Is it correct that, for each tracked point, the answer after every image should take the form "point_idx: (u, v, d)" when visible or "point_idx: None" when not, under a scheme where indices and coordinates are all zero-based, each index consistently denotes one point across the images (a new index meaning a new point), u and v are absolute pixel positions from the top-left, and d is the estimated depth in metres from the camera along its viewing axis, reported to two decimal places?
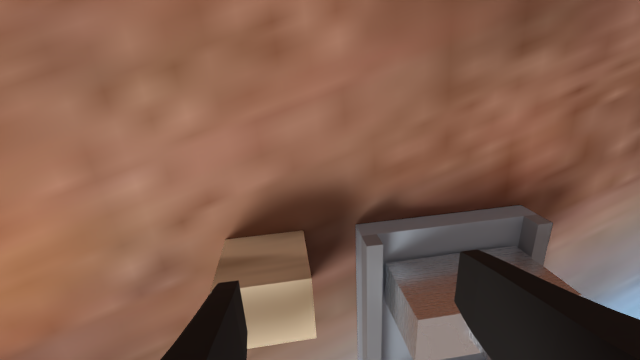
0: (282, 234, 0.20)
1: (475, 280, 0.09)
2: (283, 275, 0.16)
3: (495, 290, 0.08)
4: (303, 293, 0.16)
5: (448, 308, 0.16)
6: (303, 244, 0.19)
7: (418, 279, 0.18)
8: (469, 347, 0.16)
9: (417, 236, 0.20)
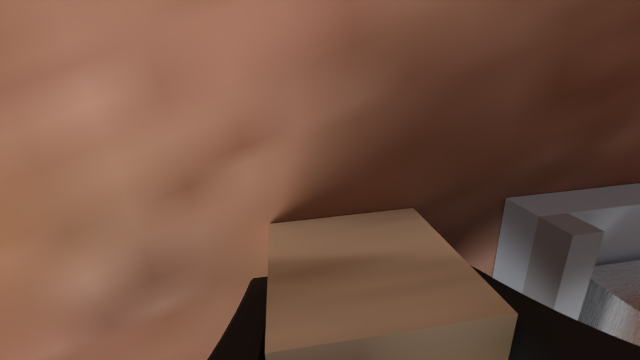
0: (378, 215, 0.10)
1: None
2: (438, 305, 0.06)
3: None
4: (490, 351, 0.06)
5: None
6: (433, 233, 0.09)
7: None
8: None
9: (635, 218, 0.10)
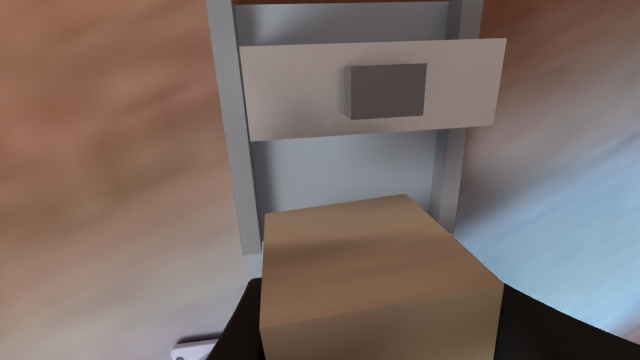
0: (371, 201, 0.11)
1: None
2: (428, 279, 0.07)
3: None
4: (479, 322, 0.07)
5: None
6: (424, 215, 0.09)
7: None
8: (336, 120, 0.11)
9: (296, 17, 0.14)
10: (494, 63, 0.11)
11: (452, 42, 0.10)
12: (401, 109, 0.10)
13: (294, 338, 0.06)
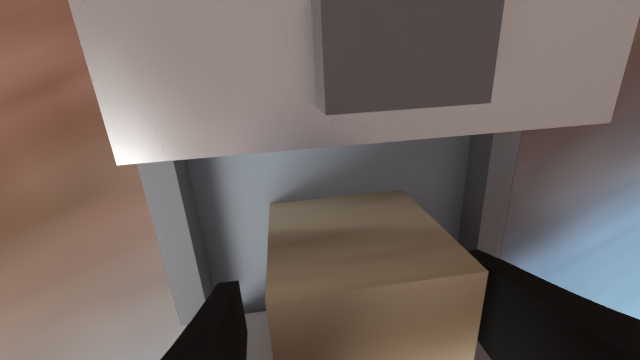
0: (370, 196, 0.11)
1: None
2: (419, 265, 0.07)
3: (495, 290, 0.08)
4: (464, 305, 0.07)
5: None
6: (419, 210, 0.10)
7: None
8: (300, 117, 0.05)
9: None
10: None
11: None
12: (442, 89, 0.04)
13: (296, 312, 0.07)
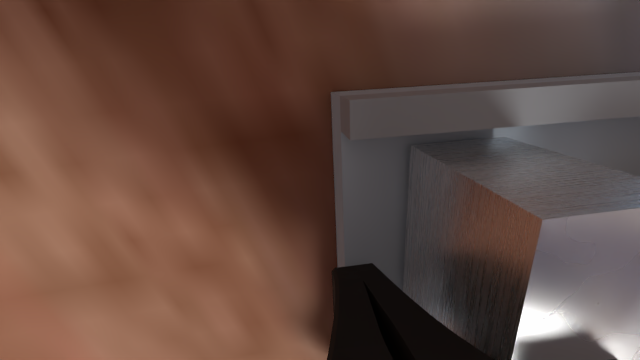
0: None
1: None
2: None
3: None
4: None
5: None
6: None
7: None
8: None
9: None
10: (585, 233, 0.05)
11: (524, 323, 0.05)
12: None
13: None
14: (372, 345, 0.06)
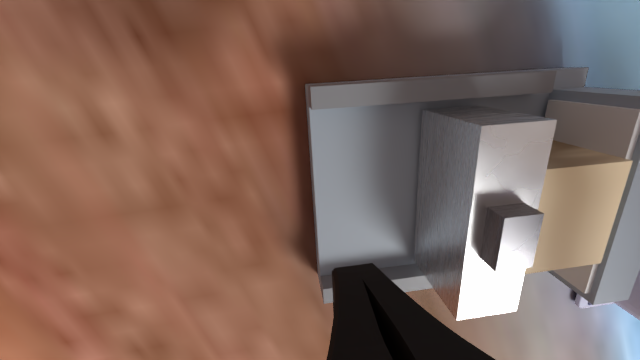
0: None
1: None
2: None
3: None
4: (562, 178, 0.12)
5: (455, 281, 0.14)
6: None
7: (429, 259, 0.16)
8: None
9: (326, 236, 0.18)
10: (501, 133, 0.11)
11: (477, 177, 0.12)
12: (534, 232, 0.12)
13: None
14: (372, 345, 0.06)
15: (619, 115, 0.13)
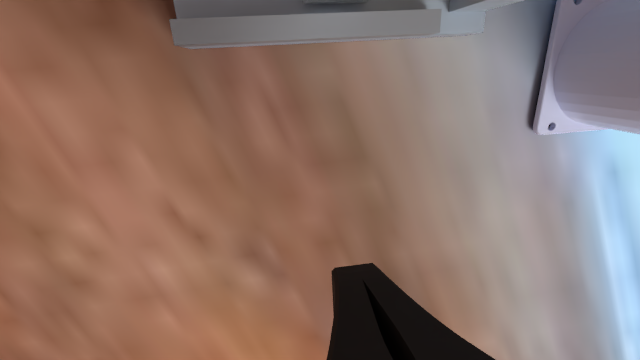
0: None
1: None
2: None
3: None
4: None
5: None
6: None
7: None
8: None
9: None
10: None
11: None
12: None
13: None
14: (372, 345, 0.06)
15: None
